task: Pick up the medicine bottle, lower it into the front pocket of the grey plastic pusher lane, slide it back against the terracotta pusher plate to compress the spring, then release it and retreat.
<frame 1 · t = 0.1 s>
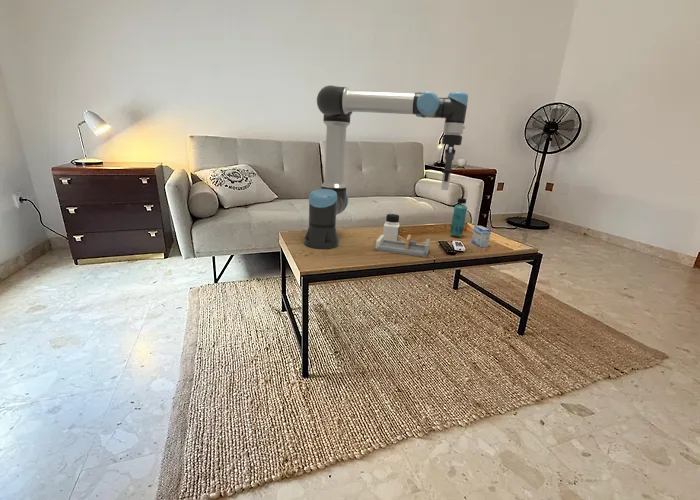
hand: (444, 187, 145), 28 cm above the table, fingers open, 13 cm apart
lane: (402, 249, 152), on the table
pusher: (411, 242, 150), point 4 cm above the table, slide at 0.0 cm
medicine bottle: (390, 238, 169), on the table
medicine box: (479, 245, 168), on the table
beverage bottle: (455, 237, 179), on the table
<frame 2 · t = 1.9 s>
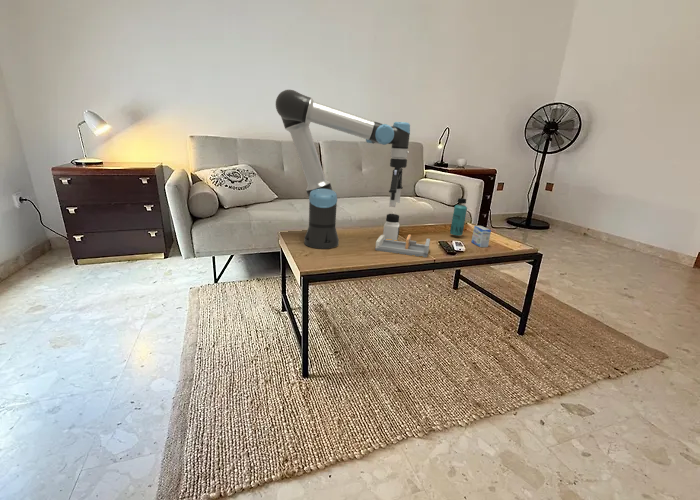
hand: (394, 204, 163), 17 cm above the table, fingers open, 13 cm apart
nothing on the table moved.
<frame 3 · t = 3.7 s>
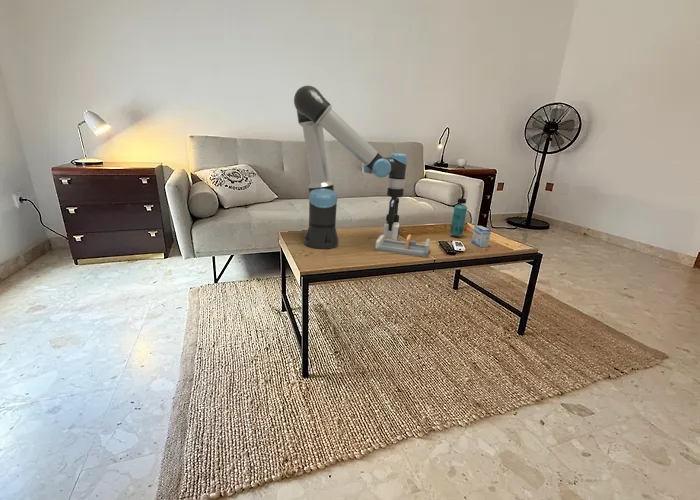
hand: (390, 234, 168), 2 cm above the table, fingers closed on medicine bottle, 7 cm apart
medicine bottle: (390, 238, 169), on the table, touching gripper
everything else where it was.
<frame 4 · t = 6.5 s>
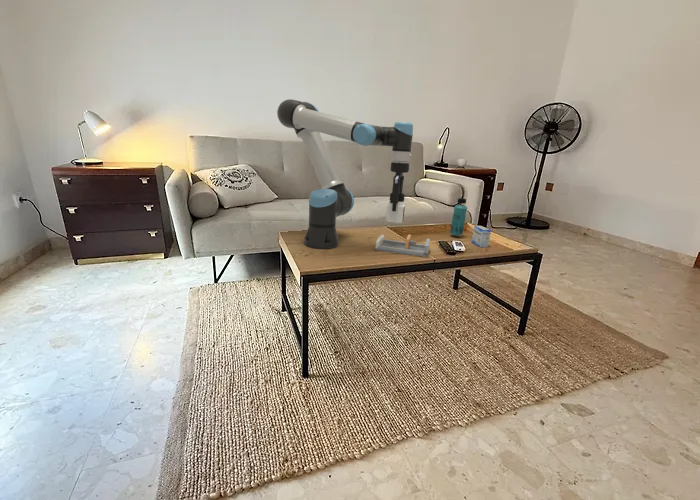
hand: (394, 216, 149), 14 cm above the table, fingers closed on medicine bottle, 7 cm apart
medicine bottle: (394, 221, 149), point 12 cm above the table, touching gripper
everything else where it was.
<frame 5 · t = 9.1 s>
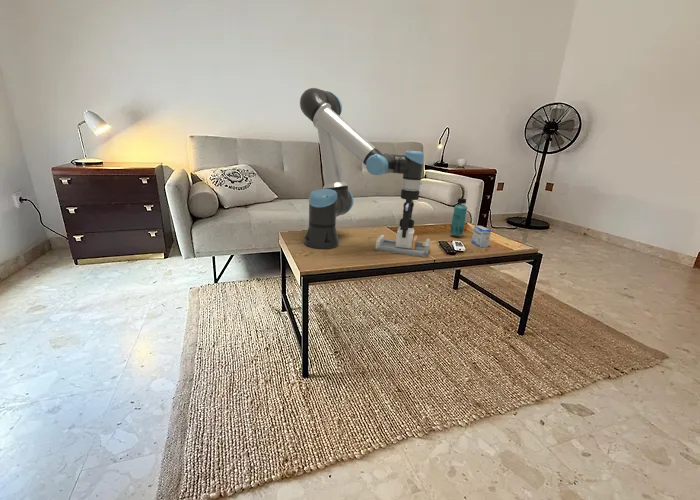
hand: (404, 242, 151), 4 cm above the table, fingers closed on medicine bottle, 7 cm apart
pusher: (417, 243, 149), point 4 cm above the table, slide at 2.8 cm
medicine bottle: (404, 246, 151), point 2 cm above the table, touching gripper
everything else where it was.
when the fingers open (4 cm above the table, at t = 9.3 s): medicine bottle moves 1 cm, resting on lane, pusher.
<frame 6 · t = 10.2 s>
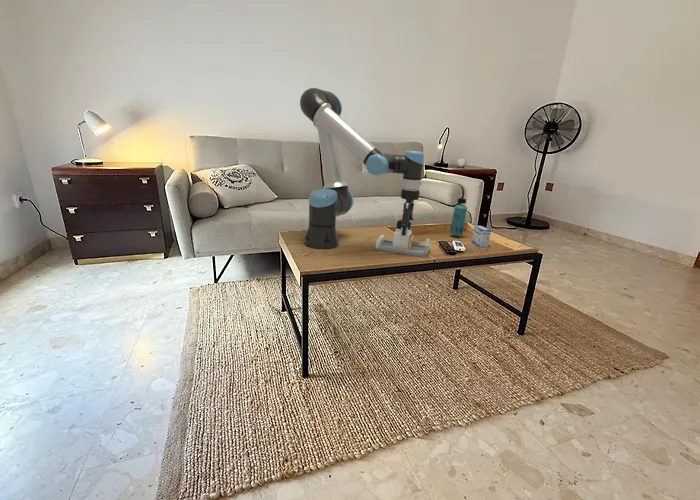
hand: (404, 238, 150), 5 cm above the table, fingers open, 13 cm apart
pusher: (414, 243, 149), point 4 cm above the table, slide at 1.4 cm, touching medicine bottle
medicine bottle: (401, 247, 152), point 1 cm above the table, touching lane, pusher
everything else where it was.
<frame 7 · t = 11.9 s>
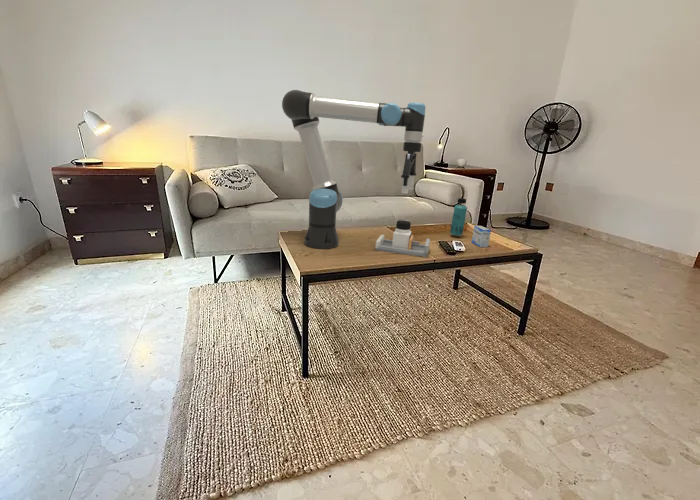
hand: (407, 191, 155), 24 cm above the table, fingers open, 13 cm apart
nothing on the table moved.
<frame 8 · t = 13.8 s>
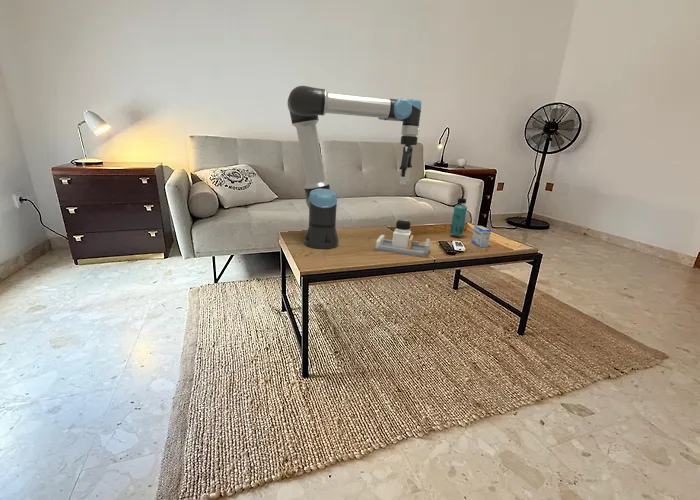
hand: (404, 182, 165), 27 cm above the table, fingers open, 13 cm apart
nothing on the table moved.
at the end: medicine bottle inside the target area on the lane (2.1 cm from its centre), point 0.8 cm above the lane's base; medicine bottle tilted 0°; the gripper is holding nothing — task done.
